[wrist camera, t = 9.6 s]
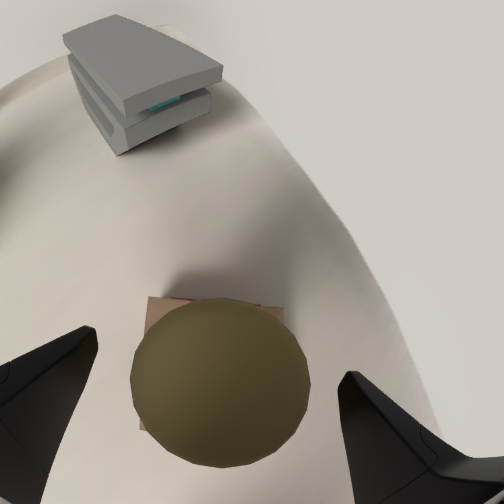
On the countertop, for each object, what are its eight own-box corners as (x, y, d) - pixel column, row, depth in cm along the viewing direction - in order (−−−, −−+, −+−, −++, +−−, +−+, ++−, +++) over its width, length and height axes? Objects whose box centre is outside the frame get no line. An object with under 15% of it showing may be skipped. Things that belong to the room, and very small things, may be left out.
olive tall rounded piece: (243, 316, 17) (298, 244, 7) (271, 402, 15) (367, 444, 5) (153, 338, 16) (79, 295, 6) (180, 428, 14) (149, 513, 4)
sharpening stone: (212, 159, 26) (223, 65, 16) (145, 197, 23) (122, 100, 13) (121, 72, 31) (115, 14, 21) (76, 94, 28) (62, 34, 18)
